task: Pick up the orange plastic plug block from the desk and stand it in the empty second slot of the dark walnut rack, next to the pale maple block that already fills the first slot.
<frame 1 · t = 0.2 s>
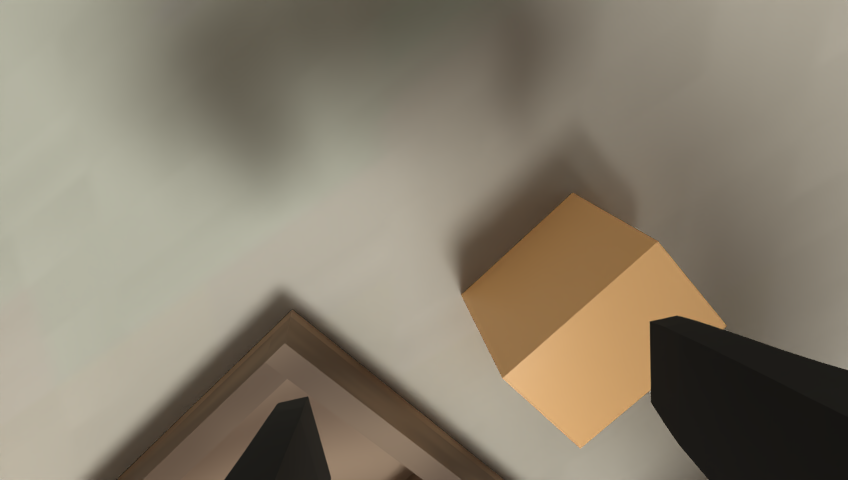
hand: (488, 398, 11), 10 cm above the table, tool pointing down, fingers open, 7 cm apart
plug block: (545, 275, 21), on the table
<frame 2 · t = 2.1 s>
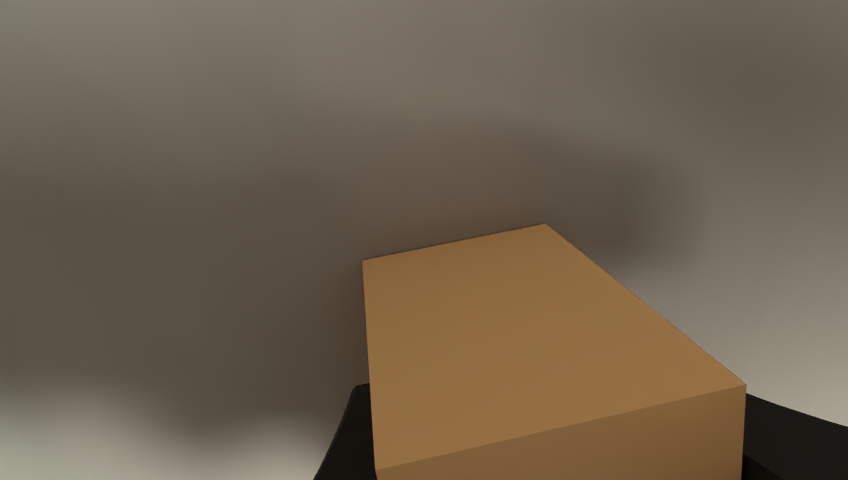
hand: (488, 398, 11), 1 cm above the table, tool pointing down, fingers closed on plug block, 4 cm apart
plug block: (473, 361, 12), on the table, touching gripper
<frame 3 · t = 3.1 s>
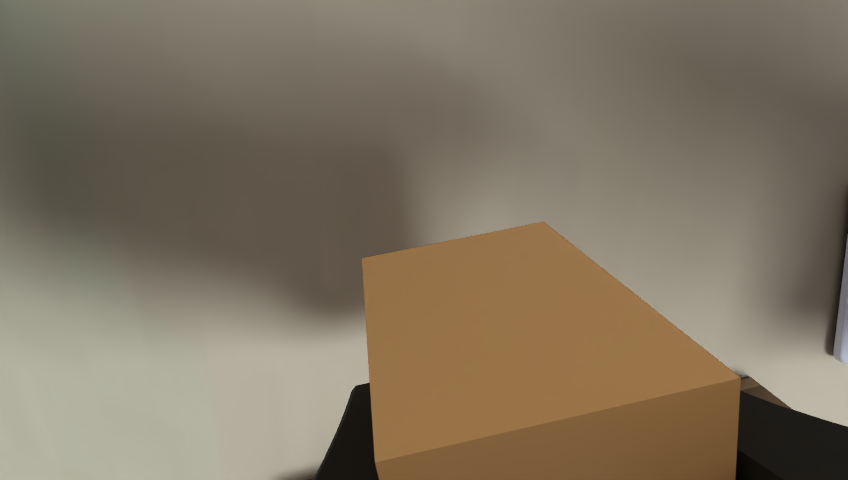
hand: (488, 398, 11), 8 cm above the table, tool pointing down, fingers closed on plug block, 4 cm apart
plug block: (472, 359, 12), point 6 cm above the table, touching gripper
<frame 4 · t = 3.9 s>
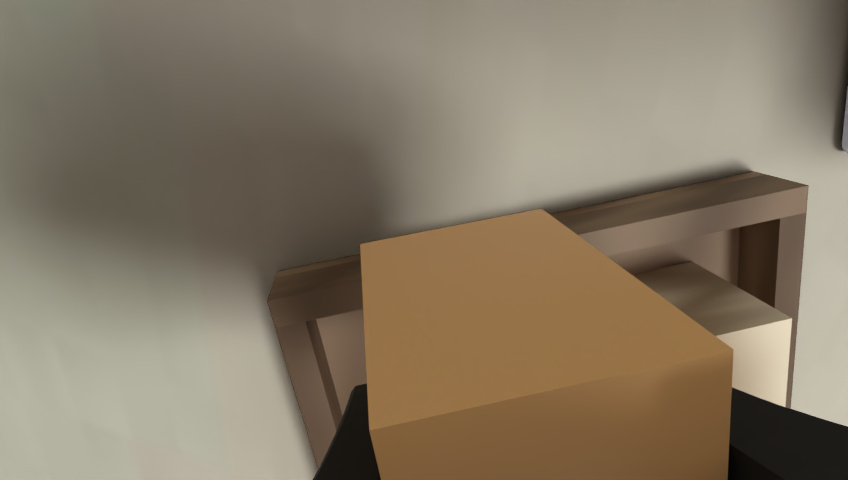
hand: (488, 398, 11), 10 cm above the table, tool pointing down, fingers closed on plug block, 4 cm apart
slot rack: (538, 353, 22), on the table
maple block: (647, 336, 22), point 1 cm above the table, touching slot rack
plug block: (469, 346, 12), point 8 cm above the table, touching gripper
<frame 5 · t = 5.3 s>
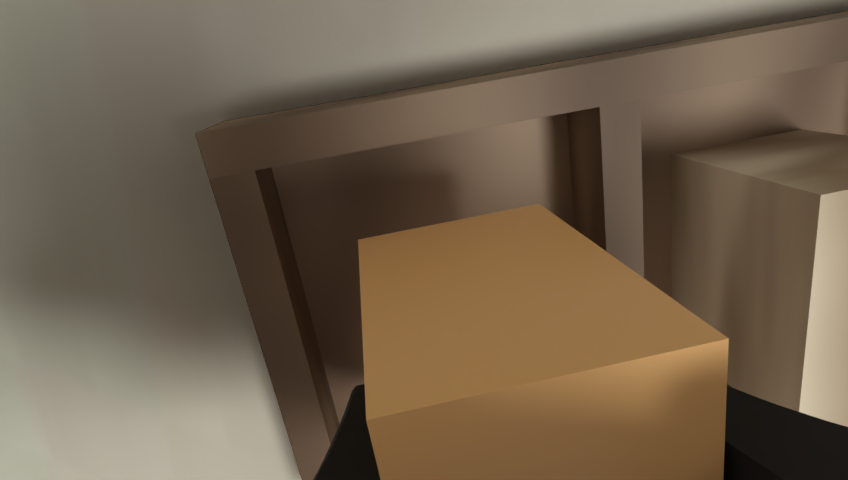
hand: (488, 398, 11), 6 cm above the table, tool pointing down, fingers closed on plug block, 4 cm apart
slot rack: (584, 260, 16), on the table
maple block: (732, 238, 16), point 1 cm above the table, touching slot rack
plug block: (468, 342, 12), point 4 cm above the table, touching gripper
when the fingers open (3 cm above the table, at t = 6.1 s): plug block drops 1 cm, resting on slot rack.
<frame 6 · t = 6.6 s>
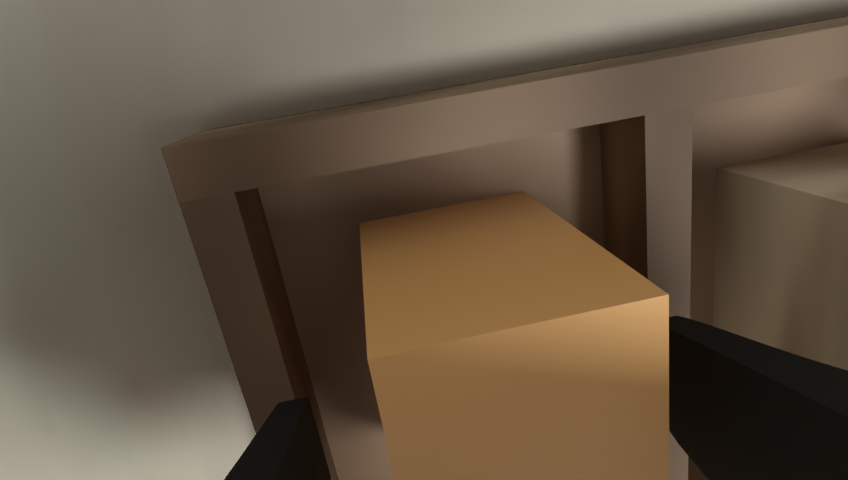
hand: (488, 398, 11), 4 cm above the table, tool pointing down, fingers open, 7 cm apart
slot rack: (614, 286, 14), on the table
maple block: (782, 262, 14), point 1 cm above the table, touching slot rack
plug block: (459, 318, 13), point 1 cm above the table, touching slot rack
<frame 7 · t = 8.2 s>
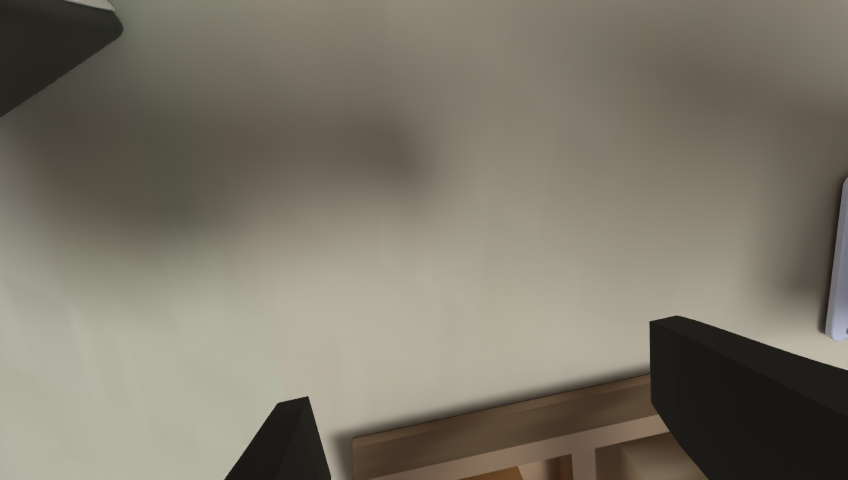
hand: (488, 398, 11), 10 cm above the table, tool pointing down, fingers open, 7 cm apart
battery charger: (11, 33, 17), on the table
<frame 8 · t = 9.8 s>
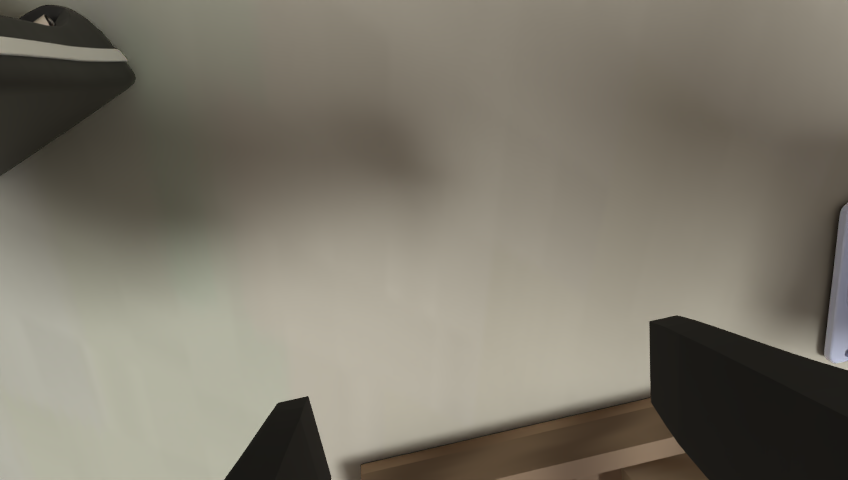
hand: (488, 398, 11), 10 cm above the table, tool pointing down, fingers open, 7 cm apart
battery charger: (26, 83, 17), on the table
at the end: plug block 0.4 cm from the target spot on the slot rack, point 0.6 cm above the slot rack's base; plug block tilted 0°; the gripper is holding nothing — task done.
